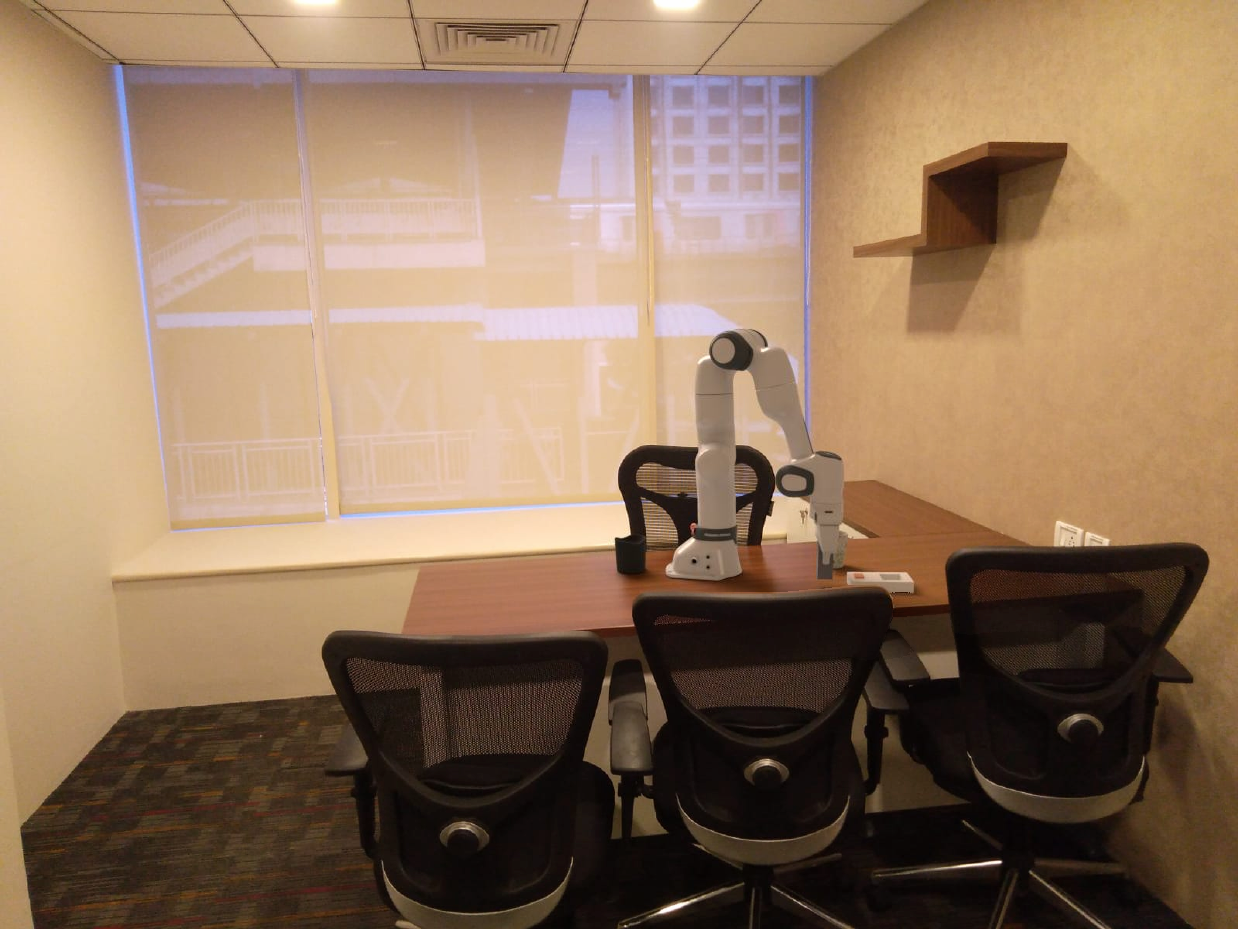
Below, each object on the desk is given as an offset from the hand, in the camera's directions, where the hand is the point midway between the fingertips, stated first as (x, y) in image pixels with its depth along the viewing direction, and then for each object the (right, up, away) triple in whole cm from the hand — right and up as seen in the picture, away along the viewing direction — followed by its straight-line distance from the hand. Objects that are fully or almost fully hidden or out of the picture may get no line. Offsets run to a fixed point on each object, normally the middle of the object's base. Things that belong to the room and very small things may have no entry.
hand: (824, 560), depth 220 cm
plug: (0, -5, +1) cm, 5 cm away
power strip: (+15, -7, -1) cm, 16 cm away
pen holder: (-53, -6, +23) cm, 58 cm away
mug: (+7, -5, +19) cm, 21 cm away
